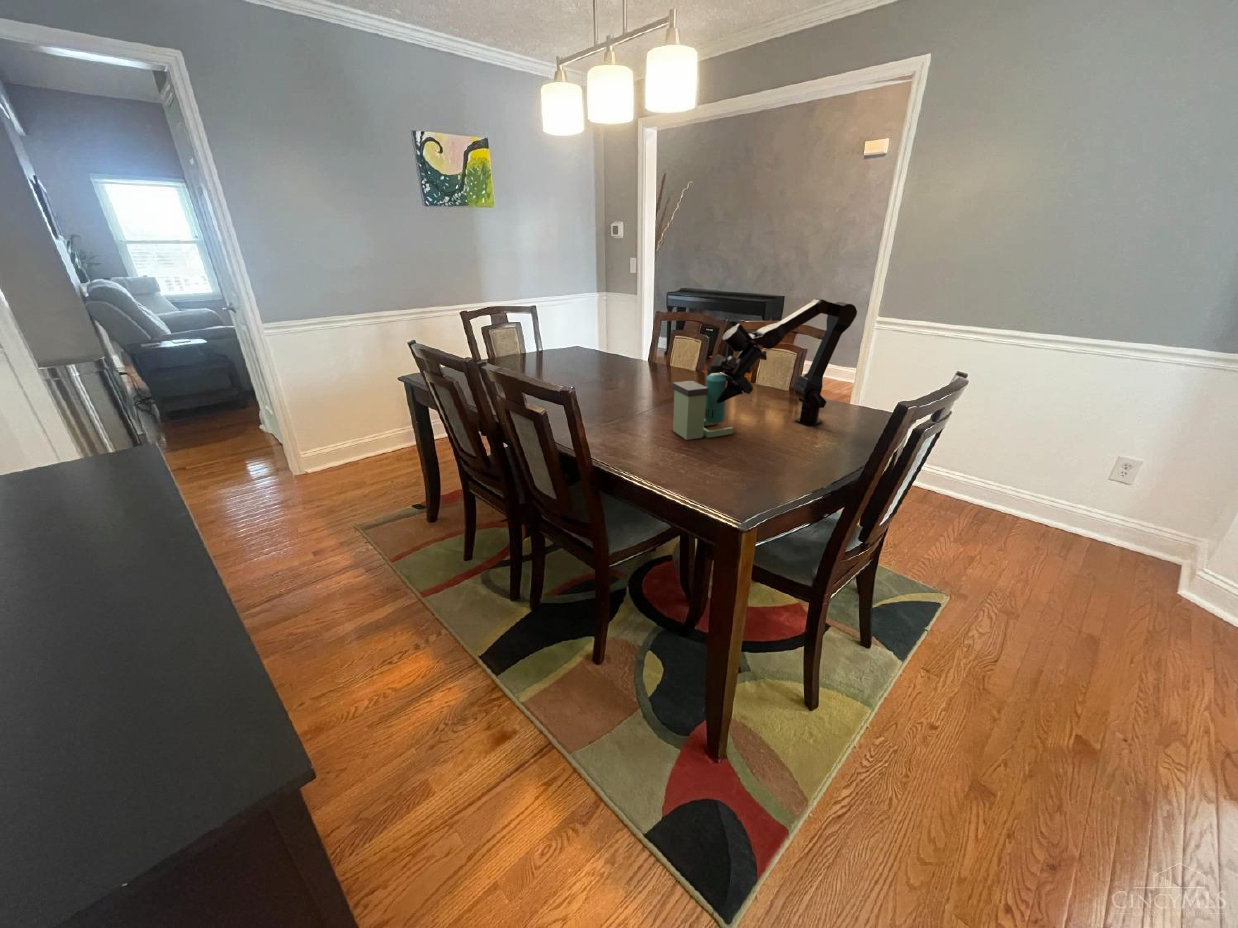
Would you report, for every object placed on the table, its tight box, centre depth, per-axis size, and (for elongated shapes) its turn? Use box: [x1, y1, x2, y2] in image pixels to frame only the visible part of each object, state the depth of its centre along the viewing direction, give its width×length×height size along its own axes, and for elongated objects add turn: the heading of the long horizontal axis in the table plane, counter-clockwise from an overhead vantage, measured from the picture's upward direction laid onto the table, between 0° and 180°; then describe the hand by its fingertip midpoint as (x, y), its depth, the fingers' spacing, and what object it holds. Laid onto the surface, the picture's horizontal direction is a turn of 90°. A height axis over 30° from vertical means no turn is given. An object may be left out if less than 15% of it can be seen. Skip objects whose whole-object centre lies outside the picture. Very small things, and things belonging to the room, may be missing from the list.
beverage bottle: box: [704, 362, 727, 424], centre depth 156 cm, size 6×7×20 cm
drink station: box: [672, 380, 735, 441], centre depth 156 cm, size 17×11×16 cm, turn 112°
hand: (712, 399), depth 156 cm, fingers closed on beverage bottle, 6 cm apart
